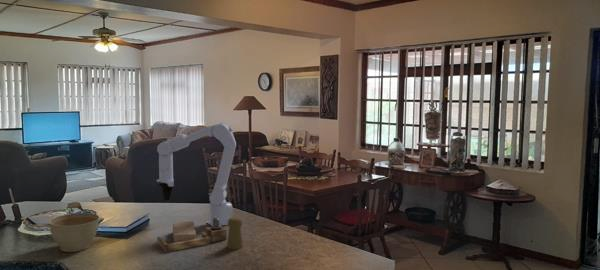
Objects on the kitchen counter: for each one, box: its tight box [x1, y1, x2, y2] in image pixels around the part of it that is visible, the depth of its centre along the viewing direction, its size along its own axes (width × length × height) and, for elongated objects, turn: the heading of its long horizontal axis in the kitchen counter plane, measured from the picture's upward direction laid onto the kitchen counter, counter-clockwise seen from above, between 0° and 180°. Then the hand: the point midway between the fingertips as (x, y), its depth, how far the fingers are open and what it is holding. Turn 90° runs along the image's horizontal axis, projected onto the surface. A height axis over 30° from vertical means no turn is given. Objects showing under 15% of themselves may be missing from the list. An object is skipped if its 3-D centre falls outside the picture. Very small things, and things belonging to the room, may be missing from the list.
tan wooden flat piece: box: [157, 231, 212, 253], centre depth 163 cm, size 17×11×2 cm, turn 123°
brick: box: [172, 220, 197, 243], centre depth 170 cm, size 17×8×5 cm, turn 17°
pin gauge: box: [212, 218, 219, 231], centre depth 169 cm, size 2×2×8 cm
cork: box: [226, 216, 244, 250], centre depth 160 cm, size 6×6×11 cm
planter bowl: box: [48, 212, 100, 253], centre depth 157 cm, size 16×16×11 cm
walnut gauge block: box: [205, 226, 227, 243], centre depth 169 cm, size 6×6×4 cm
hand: (166, 200), depth 188 cm, fingers closed
